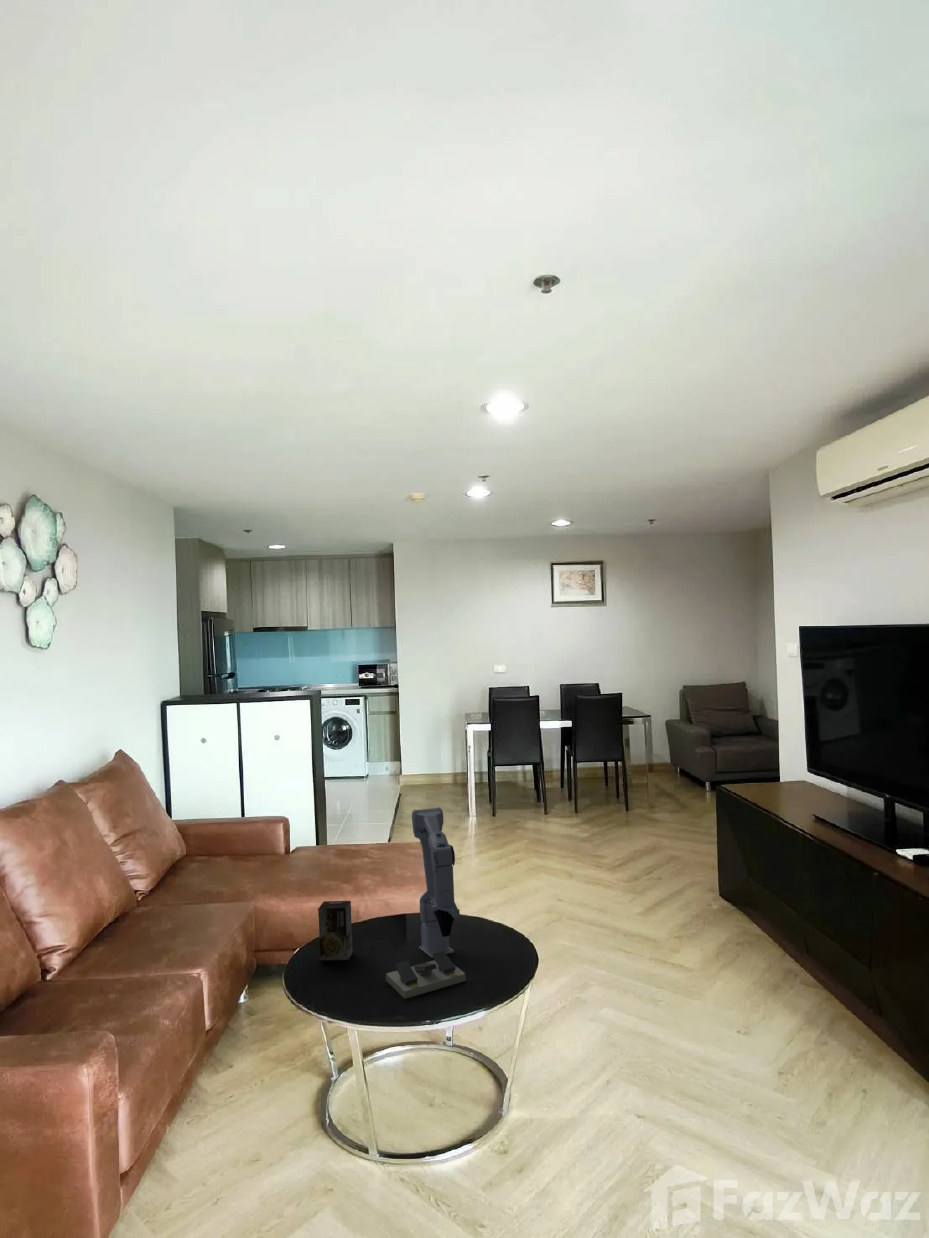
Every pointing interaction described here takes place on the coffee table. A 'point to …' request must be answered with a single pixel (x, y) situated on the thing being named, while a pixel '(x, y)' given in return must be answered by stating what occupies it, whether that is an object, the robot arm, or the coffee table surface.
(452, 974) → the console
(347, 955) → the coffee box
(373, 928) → the coffee table surface
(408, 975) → the block
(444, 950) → the robot arm
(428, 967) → the rocker mid
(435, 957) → the rocker back
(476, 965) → the coffee table surface
